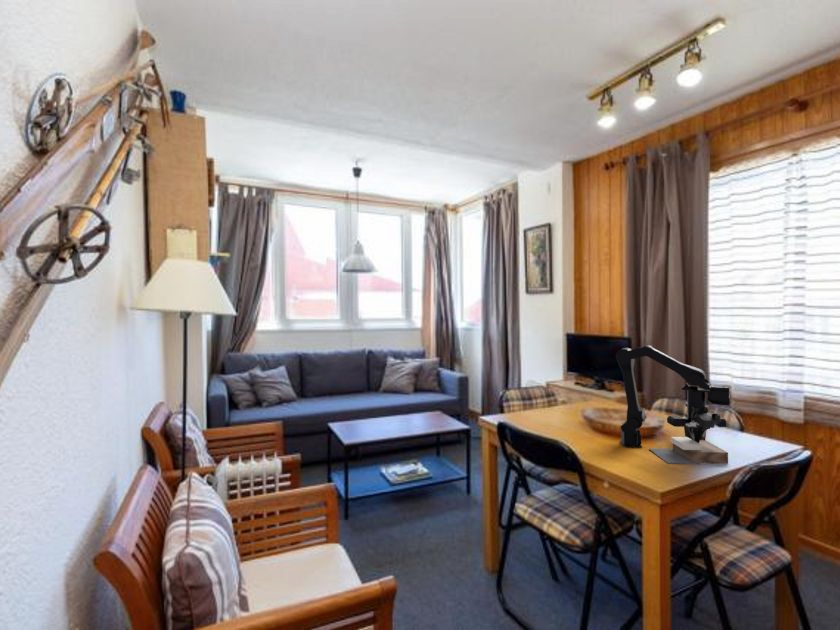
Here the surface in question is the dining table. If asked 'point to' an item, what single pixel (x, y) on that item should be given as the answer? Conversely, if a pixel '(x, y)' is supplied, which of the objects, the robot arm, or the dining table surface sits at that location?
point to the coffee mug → (687, 434)
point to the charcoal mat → (672, 456)
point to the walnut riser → (705, 453)
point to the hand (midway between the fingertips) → (696, 443)
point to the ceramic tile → (686, 443)
